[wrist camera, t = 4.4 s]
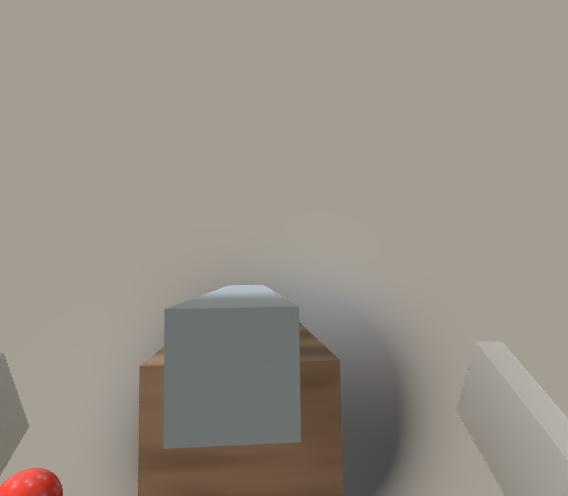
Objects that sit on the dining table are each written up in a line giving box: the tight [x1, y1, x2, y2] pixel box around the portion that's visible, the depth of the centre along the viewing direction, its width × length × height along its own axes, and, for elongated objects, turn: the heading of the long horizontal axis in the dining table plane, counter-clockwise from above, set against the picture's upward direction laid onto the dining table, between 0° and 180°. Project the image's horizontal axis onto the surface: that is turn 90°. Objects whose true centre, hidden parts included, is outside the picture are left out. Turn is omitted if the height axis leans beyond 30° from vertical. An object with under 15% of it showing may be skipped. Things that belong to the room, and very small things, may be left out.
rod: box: [164, 285, 301, 449], centre depth 25 cm, size 30×4×4 cm, turn 5°
